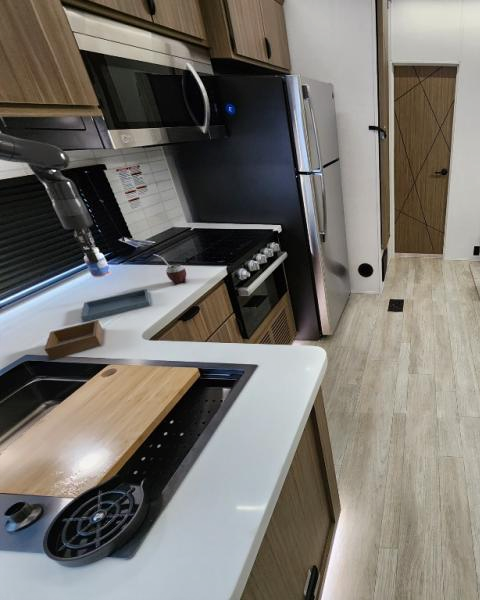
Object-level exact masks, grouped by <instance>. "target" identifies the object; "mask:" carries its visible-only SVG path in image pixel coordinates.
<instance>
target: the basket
mask: <svg viewBox="0 0 480 600" xmlns="http://www.w3.org/2000/svg"><path fill="white" fill-rule="evenodd" d="M101 325H102V324H100V322H99V320H98V319H95V320H91V321H87V322H83V323H79V324H77V325H72V326H68V327H64V328H59V329H55V330H52V331H50V332H49V334H48V338H47V341H46V343H45V346H44V351H45V353H46V354H47V356H48V358H49V359H50V361H52V360H56V359H60V358H63V357H66V356H70V355H74V354H77V353H80V352H84V351H85V352H86V351H88V350H92V349H95V348H98V347H102V343H103V333H104V329H103V327H102V326H101ZM84 336H85V337H84ZM76 338H78V339H76ZM61 342H62V343H61Z"/></svg>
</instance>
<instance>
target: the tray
mask: <svg viewBox="0 0 480 600" xmlns="http://www.w3.org/2000/svg"><path fill="white" fill-rule="evenodd" d="M149 293H150V292H149V291H148V288H144V289H140V290H134V291H130V292H126V293H121V294H116V295H113V296H108V297H102V298H99V299H98V298H97V299H94V300H89V301H85V302H83V306H82V311H81V315H80V318H81V320H82V322H83V323H87V322H92V321H96V320H98V319H102V318H107V317H110V316H115V315H118V314H123V313H127V312H130V311H135V310H139V309H143V308H147V307H151V300H150V294H149Z"/></svg>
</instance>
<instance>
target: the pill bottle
mask: <svg viewBox="0 0 480 600" xmlns="http://www.w3.org/2000/svg"><path fill="white" fill-rule="evenodd" d="M85 249H89V248H86V247H85ZM93 250H94V252H95V255H96V257H97V259H98V263H95V264H91V263H90V262H89V260H88V258H87V255H86V254H85V253H83V254H84V257H83V261H84V263H85V264H86V266H87V269H88V270H89V273H90V275H91V276H92V277H93V278H102V277H106V276H109V275H110V274H111V273H112V271H111V268H110V266H109V264H108V261H107V259H106V257H105V255H104V254H103V253H102V252H100V249H99V247H96V246H95V247H93Z"/></svg>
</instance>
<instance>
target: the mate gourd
mask: <svg viewBox="0 0 480 600" xmlns="http://www.w3.org/2000/svg"><path fill="white" fill-rule="evenodd" d="M152 255H153V256H155V257H158V258H160V260H161V261H163V263H165V265H166V266H167V267H166V270H165V271H166V276H167V278H168V279H169V280H170V281H171V282H172V283H173V284H174V286H176V285H178V284H181V283H182V284H186V283H187V279H186V278H187V271H186V268H185V267H184V266H183V265H182V264H179V263H178V264H177V263H176V264H171V265H170V264H169V263H168V262H167V260H165V258H164V257H163V256H160V255H158V254H154V253H153V254H152Z"/></svg>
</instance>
